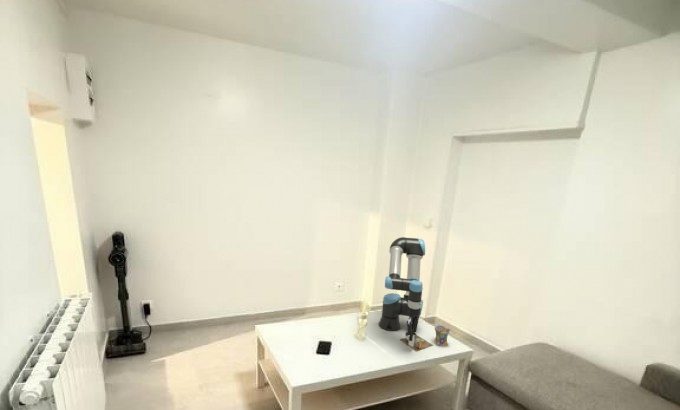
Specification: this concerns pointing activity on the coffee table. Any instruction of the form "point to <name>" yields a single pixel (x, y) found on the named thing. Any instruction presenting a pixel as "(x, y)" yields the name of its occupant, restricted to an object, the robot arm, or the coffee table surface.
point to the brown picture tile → (423, 345)
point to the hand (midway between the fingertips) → (411, 345)
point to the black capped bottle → (416, 342)
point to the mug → (441, 336)
